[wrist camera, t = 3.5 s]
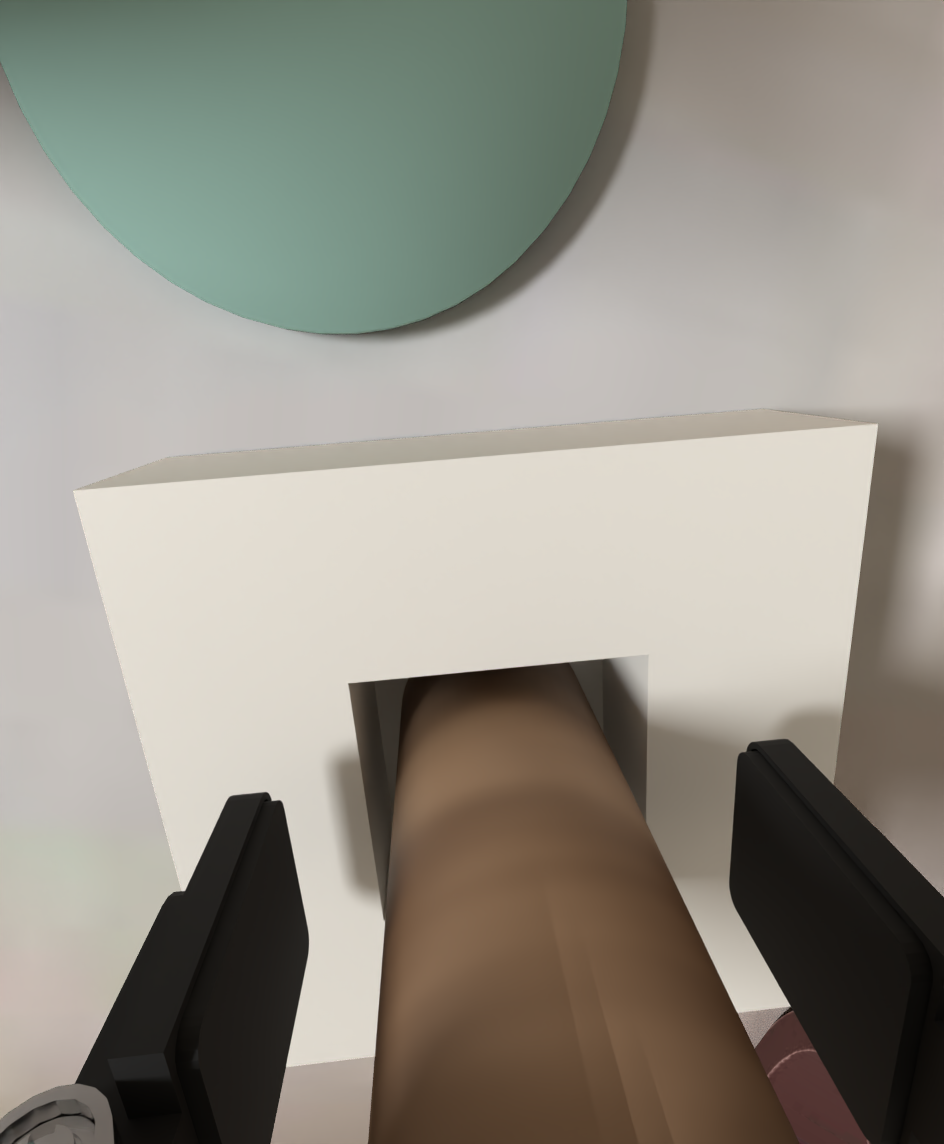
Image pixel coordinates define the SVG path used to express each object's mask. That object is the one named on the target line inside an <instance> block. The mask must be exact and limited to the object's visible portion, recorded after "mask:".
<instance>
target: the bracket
mask: <svg viewBox="0 0 944 1144" xmlns="http://www.w3.org/2000/svg"><path fill="white" fill-rule="evenodd" d="M755 1051H756V1053H757V1055H758V1057H759V1059H760V1061H761V1064H762V1066H763V1068H764V1070H765V1072H766V1074H767V1076H768V1078H769V1080H770V1082H771V1084H772V1087H773V1089H774V1091H775V1093H776V1095H777V1097H778V1099H779V1101H780V1103H781V1105H782V1107H783V1110H784V1112H785V1114H786V1116H787V1118H788V1120H789V1122H790V1124H791V1126H792V1128H793V1130H794V1133H795V1135H796V1137H797V1139H798V1141H799V1143H800V1144H871V1143H870V1142H869V1141H868V1140H867V1139H866V1137H865V1136H864V1134H863V1133H862V1131H861V1130H860V1128H859V1126H858V1124H857V1123H856V1121H855V1119H854V1117H853V1116H852V1114H851V1112H850V1110H849V1108H848V1107H847V1105H846V1103H845V1101H844V1100H843V1098H842V1096H841V1094H840V1093H839V1091H838V1089H837V1087H836V1086H835V1084H834V1082H833V1080H832V1078H831V1077H830V1075H829V1073H828V1071H827V1070H826V1068H825V1066H824V1064H823V1063H822V1061H821V1059H820V1057H819V1056H818V1054H817V1052H816V1050H815V1048H814V1047H813V1045H812V1043H811V1041H810V1040H809V1038H808V1036H807V1034H806V1033H805V1031H804V1029H803V1027H802V1026H801V1024H800V1022H799V1020H798V1018H797V1017H796V1015H795V1013H794V1011H791V1012H789V1013H787V1014H786V1015H784V1016H783V1017H781V1018H780V1019H779V1020H777V1021H776V1022H775V1023H774V1024H773V1025H772V1026H771V1027H770V1029H769V1030H768V1031H767V1033H766V1034H765V1035H764V1037H763V1038H762V1040H761V1041H760V1042H759V1044H758V1045H757V1046H756V1048H755Z"/></svg>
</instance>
